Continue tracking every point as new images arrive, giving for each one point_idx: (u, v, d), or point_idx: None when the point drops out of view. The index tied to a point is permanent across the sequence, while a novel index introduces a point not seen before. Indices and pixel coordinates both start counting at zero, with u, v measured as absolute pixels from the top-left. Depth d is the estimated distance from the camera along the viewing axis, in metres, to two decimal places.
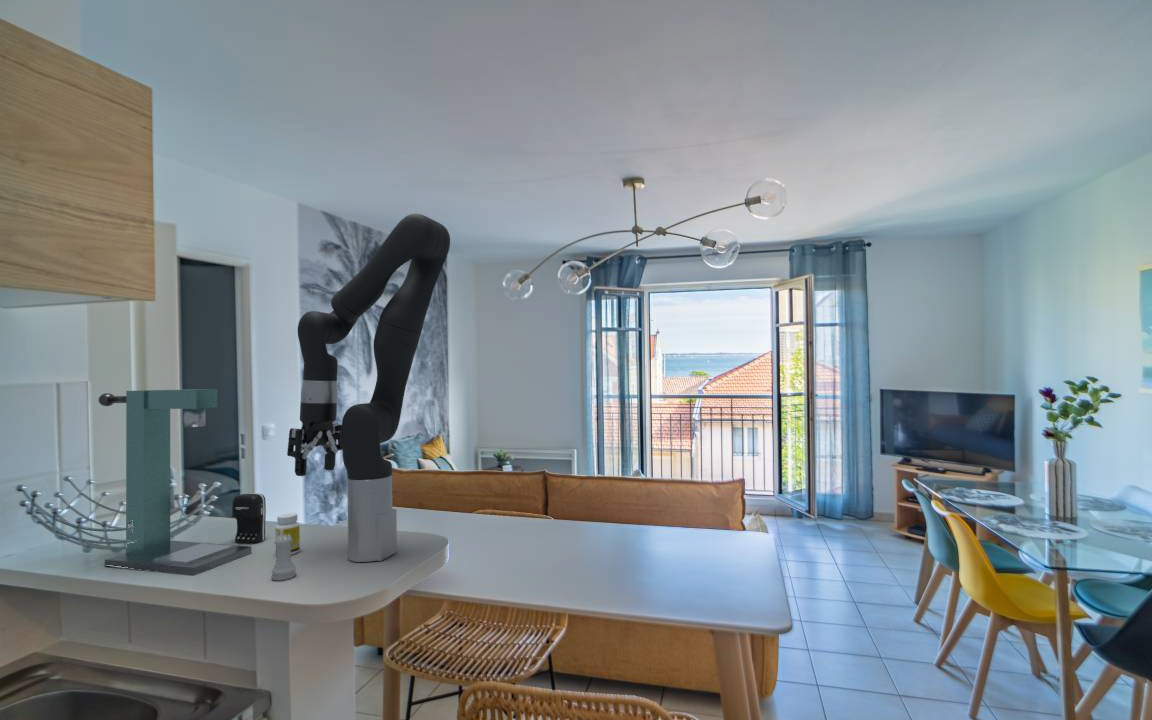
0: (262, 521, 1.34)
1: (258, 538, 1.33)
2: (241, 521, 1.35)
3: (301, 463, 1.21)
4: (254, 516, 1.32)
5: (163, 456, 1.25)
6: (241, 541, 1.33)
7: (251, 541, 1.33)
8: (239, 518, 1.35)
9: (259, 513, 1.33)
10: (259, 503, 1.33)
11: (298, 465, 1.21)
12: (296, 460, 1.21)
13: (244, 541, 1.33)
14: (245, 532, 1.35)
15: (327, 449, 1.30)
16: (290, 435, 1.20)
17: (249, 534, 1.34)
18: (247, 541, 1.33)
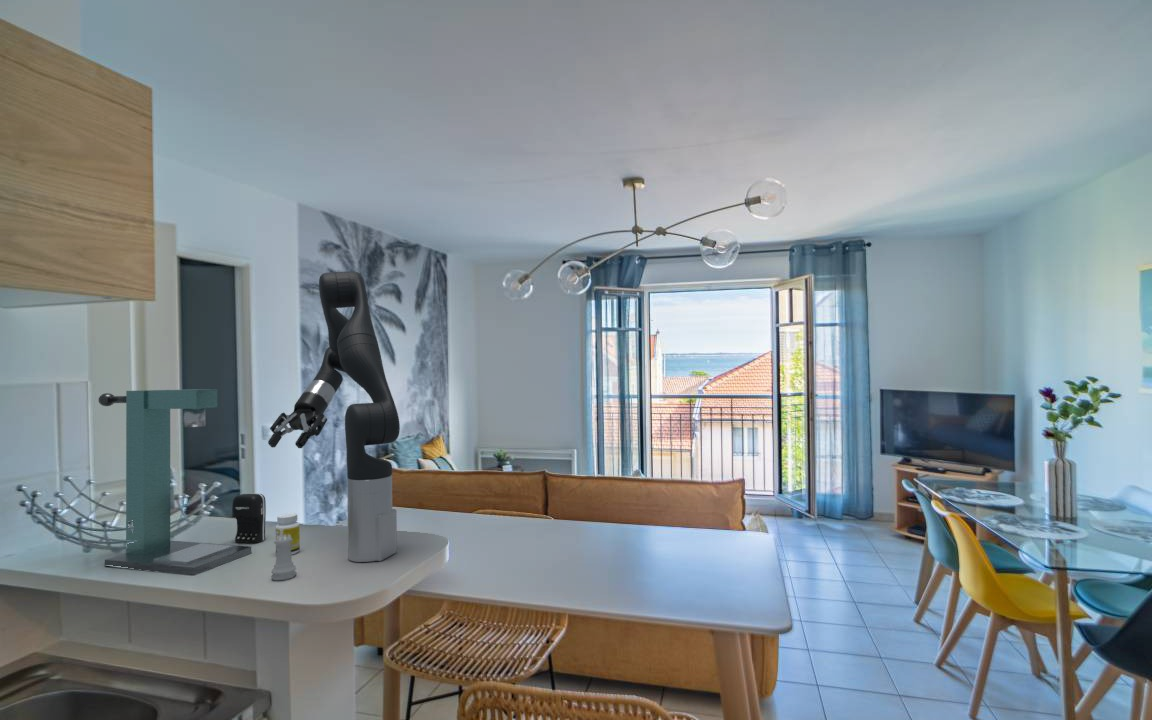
0: (262, 521, 1.34)
1: (258, 538, 1.33)
2: (241, 521, 1.35)
3: (273, 435, 1.49)
4: (254, 516, 1.32)
5: (163, 456, 1.25)
6: (241, 541, 1.33)
7: (251, 541, 1.33)
8: (239, 518, 1.35)
9: (259, 513, 1.33)
10: (259, 503, 1.33)
11: None
12: None
13: (244, 541, 1.33)
14: (245, 532, 1.35)
15: None
16: None
17: (249, 534, 1.34)
18: (247, 541, 1.33)
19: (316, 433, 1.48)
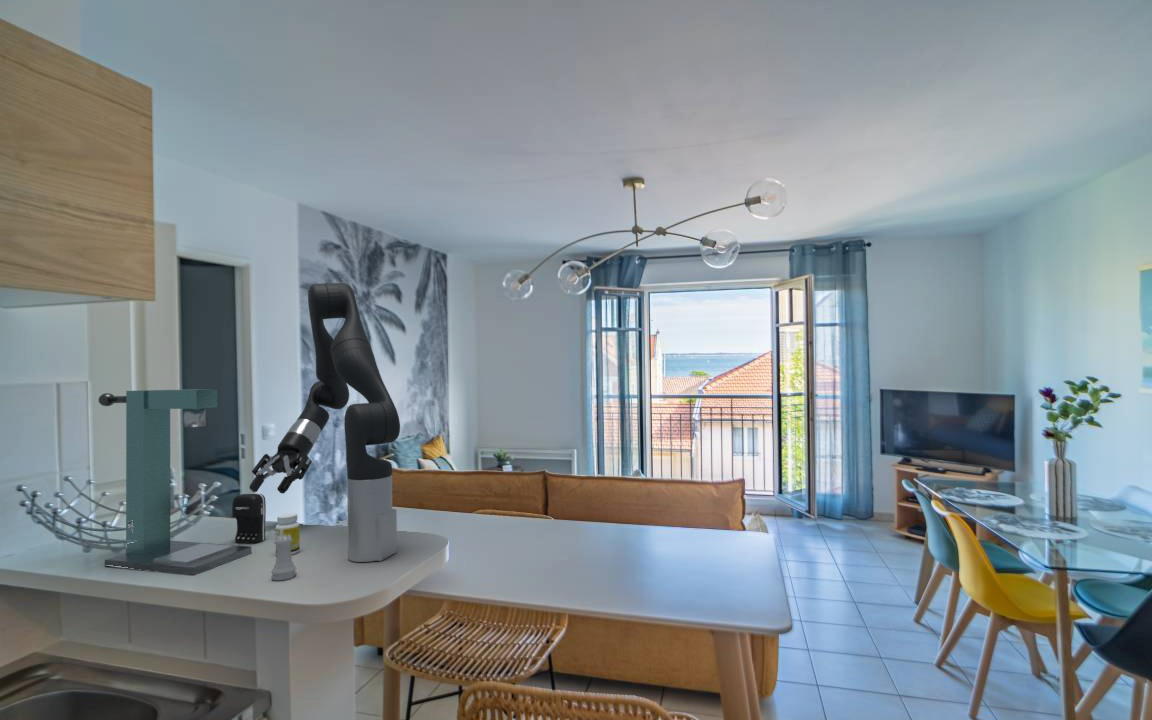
0: (262, 521, 1.34)
1: (258, 538, 1.33)
2: (241, 521, 1.35)
3: (255, 479, 1.43)
4: (254, 516, 1.32)
5: (163, 456, 1.25)
6: (241, 541, 1.33)
7: (251, 541, 1.33)
8: (239, 518, 1.35)
9: (259, 513, 1.33)
10: (259, 503, 1.33)
11: None
12: None
13: (244, 541, 1.33)
14: (245, 532, 1.35)
15: None
16: None
17: (249, 534, 1.34)
18: (247, 541, 1.33)
19: (299, 477, 1.41)
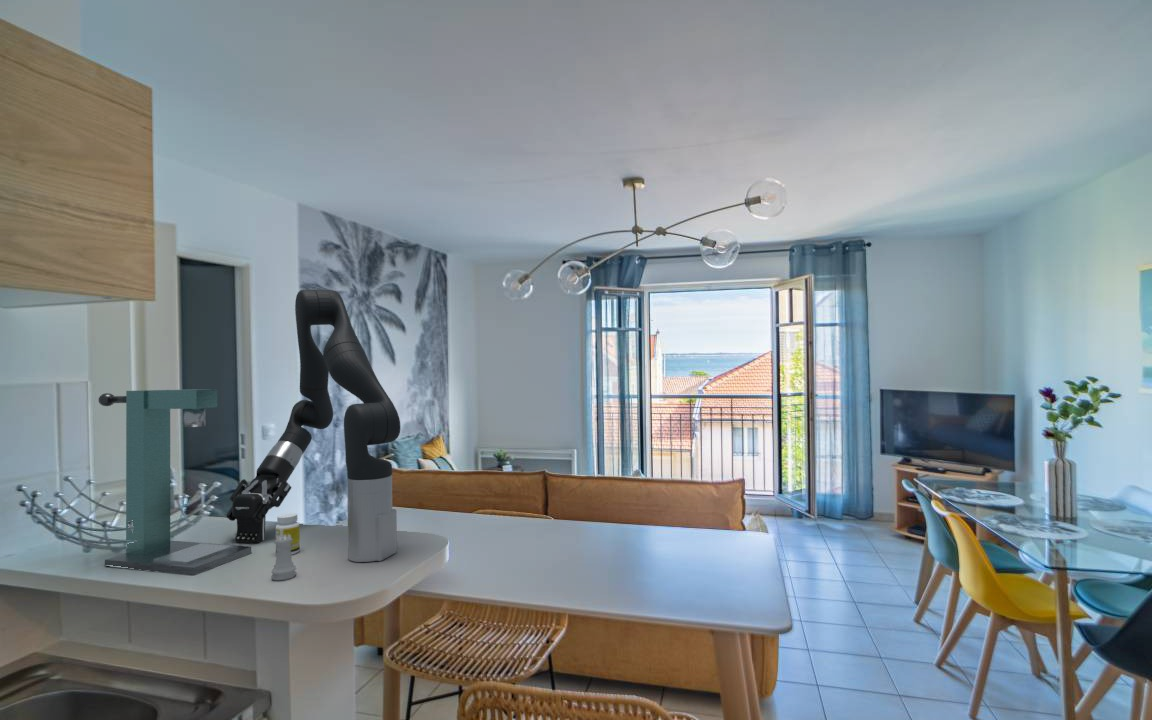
0: (262, 521, 1.34)
1: (258, 538, 1.33)
2: (241, 521, 1.35)
3: None
4: None
5: (163, 456, 1.25)
6: (241, 541, 1.33)
7: (251, 541, 1.33)
8: (239, 518, 1.35)
9: None
10: (259, 503, 1.33)
11: None
12: None
13: (244, 541, 1.33)
14: (245, 532, 1.35)
15: None
16: None
17: (249, 534, 1.34)
18: (247, 541, 1.33)
19: (276, 505, 1.35)
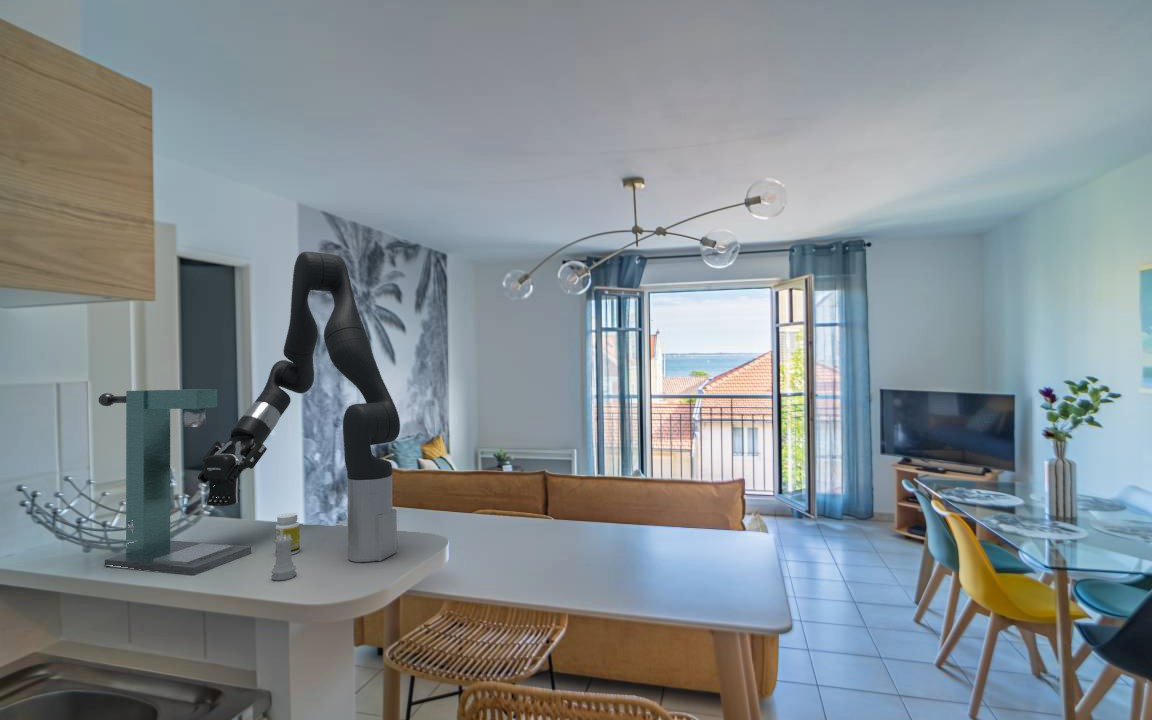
0: (235, 483, 1.27)
1: (231, 501, 1.26)
2: (213, 483, 1.28)
3: None
4: None
5: (163, 456, 1.25)
6: (213, 504, 1.26)
7: (223, 504, 1.26)
8: (211, 480, 1.27)
9: None
10: (232, 464, 1.26)
11: None
12: None
13: (216, 504, 1.26)
14: (218, 495, 1.27)
15: None
16: None
17: (222, 497, 1.27)
18: (219, 504, 1.26)
19: (250, 466, 1.27)
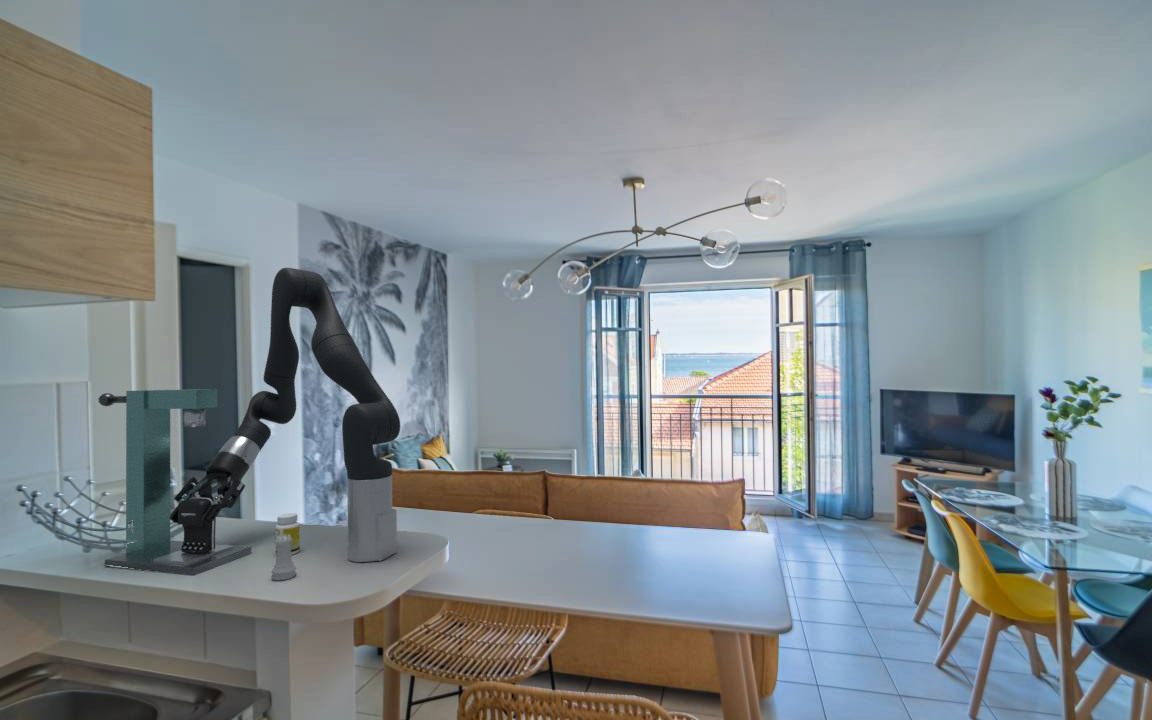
0: (211, 529, 1.21)
1: (206, 548, 1.20)
2: (188, 529, 1.21)
3: (177, 507, 1.22)
4: (201, 523, 1.19)
5: (163, 456, 1.25)
6: (187, 551, 1.20)
7: (198, 551, 1.19)
8: (186, 525, 1.21)
9: None
10: None
11: None
12: None
13: (191, 551, 1.20)
14: (193, 541, 1.21)
15: None
16: None
17: (197, 543, 1.21)
18: (194, 551, 1.19)
19: (228, 505, 1.21)
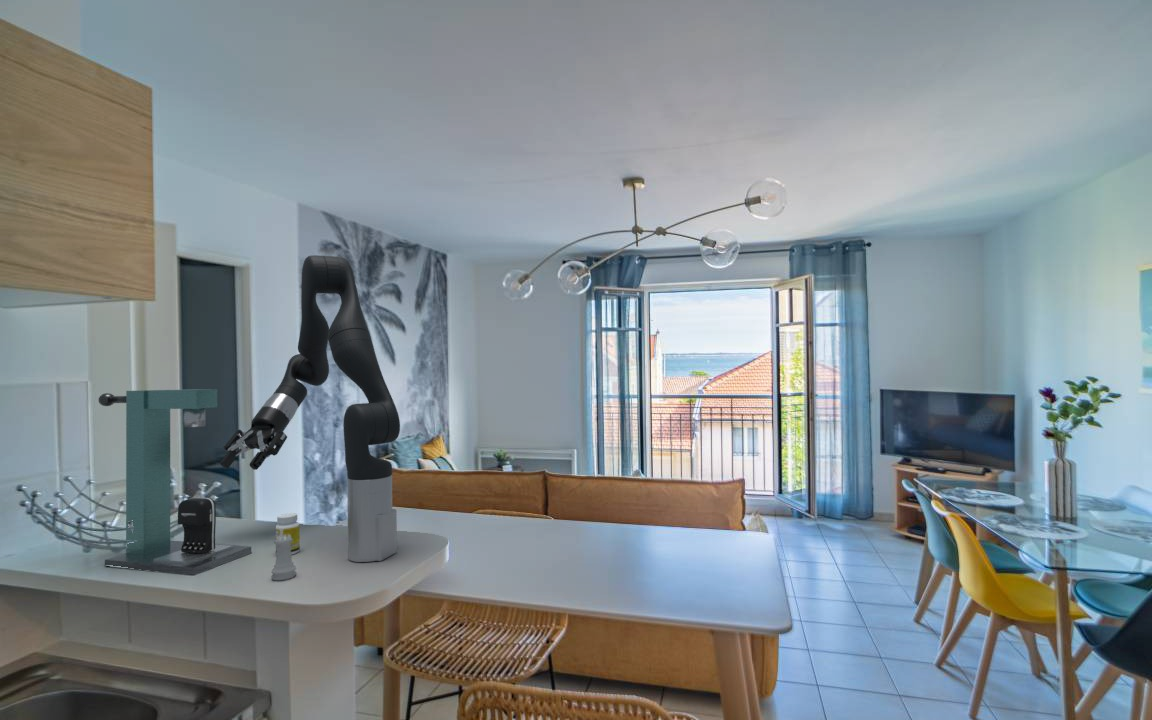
0: (211, 529, 1.21)
1: (206, 548, 1.20)
2: (188, 529, 1.21)
3: (226, 455, 1.35)
4: (201, 523, 1.19)
5: (163, 456, 1.25)
6: (187, 551, 1.20)
7: (198, 551, 1.19)
8: (186, 525, 1.21)
9: (207, 520, 1.20)
10: (207, 509, 1.20)
11: None
12: None
13: (191, 551, 1.20)
14: (193, 541, 1.21)
15: None
16: None
17: (197, 543, 1.21)
18: (194, 551, 1.19)
19: (274, 452, 1.34)
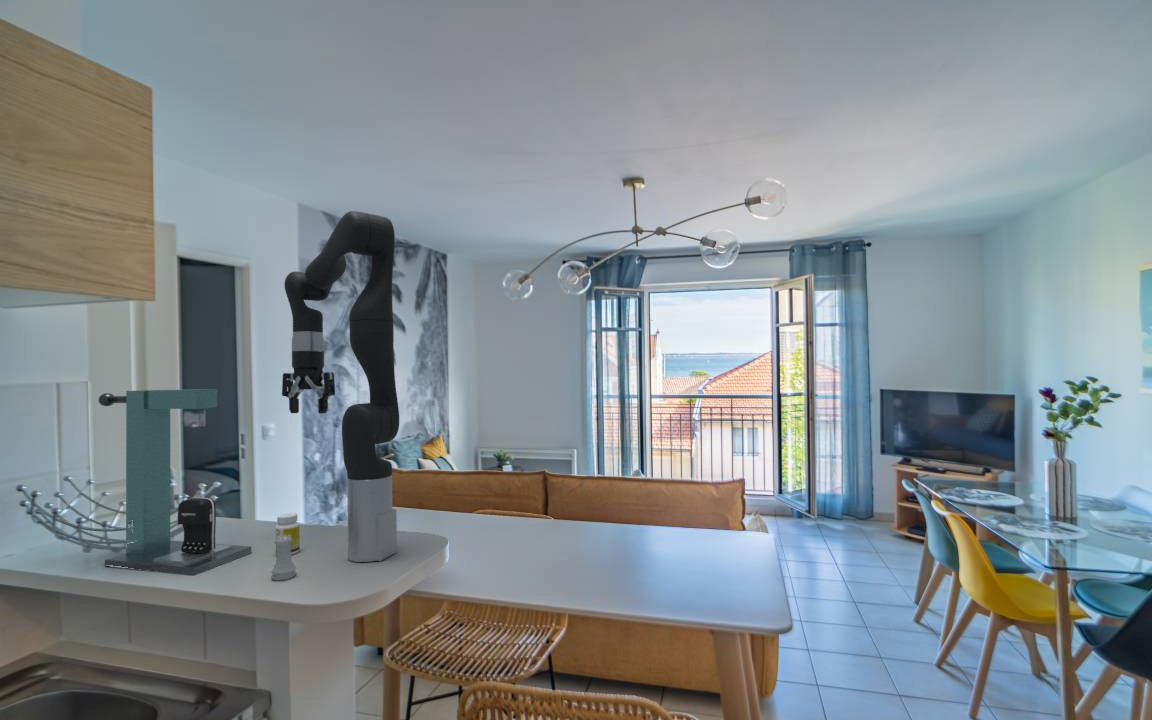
0: (211, 529, 1.21)
1: (206, 548, 1.20)
2: (188, 529, 1.21)
3: (290, 402, 1.44)
4: (201, 523, 1.19)
5: (163, 456, 1.25)
6: (187, 551, 1.20)
7: (198, 551, 1.19)
8: (186, 525, 1.21)
9: (207, 520, 1.20)
10: (207, 509, 1.20)
11: None
12: None
13: (191, 551, 1.20)
14: (193, 541, 1.21)
15: None
16: None
17: (197, 543, 1.21)
18: (194, 551, 1.19)
19: (332, 394, 1.42)
